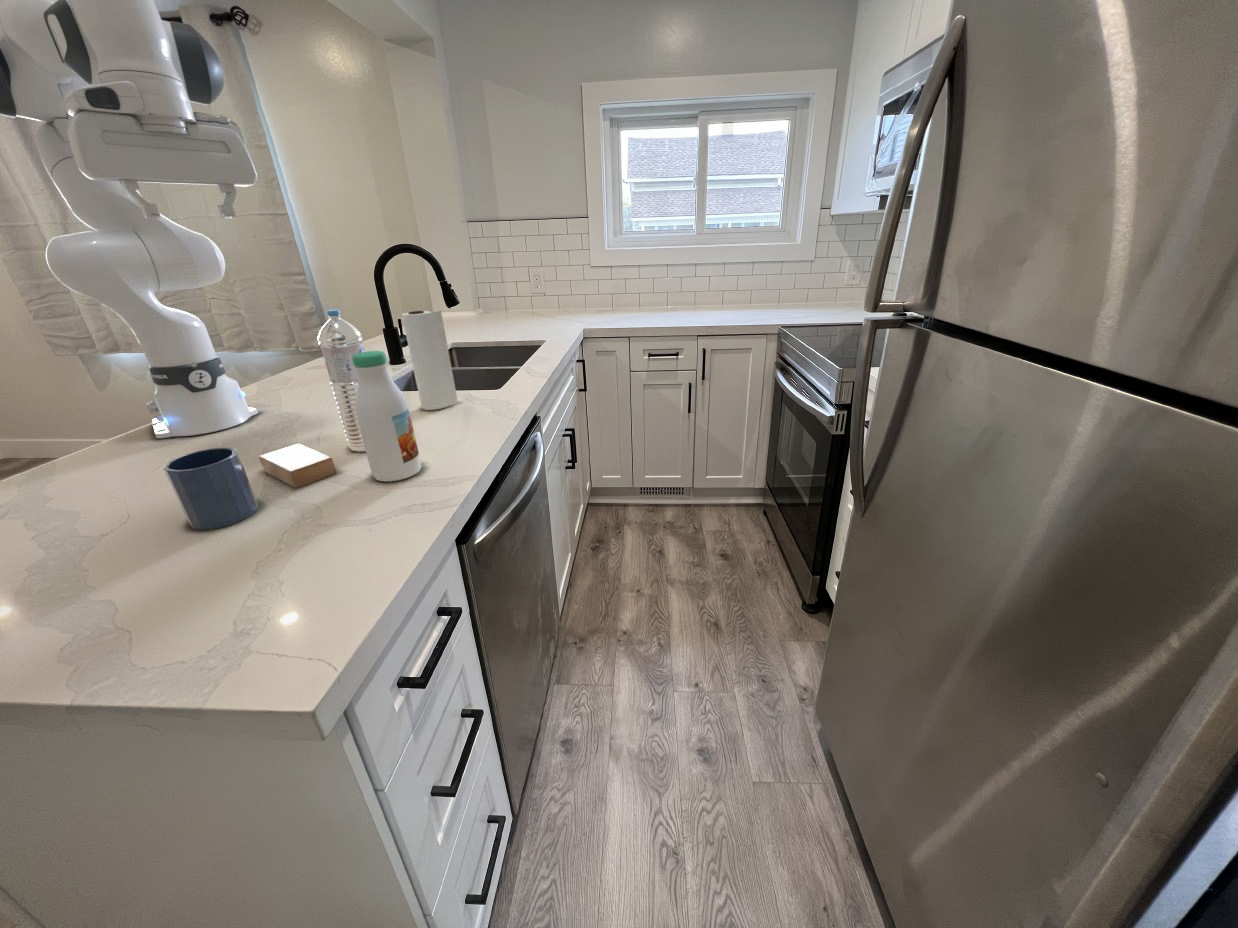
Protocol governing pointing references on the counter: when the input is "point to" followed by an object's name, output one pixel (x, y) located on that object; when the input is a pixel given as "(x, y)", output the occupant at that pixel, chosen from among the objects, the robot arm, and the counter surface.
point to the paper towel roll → (430, 358)
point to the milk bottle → (384, 420)
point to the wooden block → (297, 465)
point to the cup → (212, 488)
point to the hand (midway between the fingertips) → (192, 218)
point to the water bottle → (343, 371)
